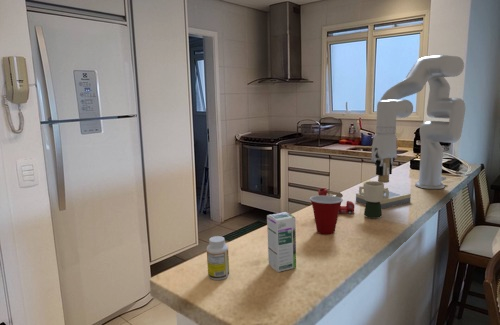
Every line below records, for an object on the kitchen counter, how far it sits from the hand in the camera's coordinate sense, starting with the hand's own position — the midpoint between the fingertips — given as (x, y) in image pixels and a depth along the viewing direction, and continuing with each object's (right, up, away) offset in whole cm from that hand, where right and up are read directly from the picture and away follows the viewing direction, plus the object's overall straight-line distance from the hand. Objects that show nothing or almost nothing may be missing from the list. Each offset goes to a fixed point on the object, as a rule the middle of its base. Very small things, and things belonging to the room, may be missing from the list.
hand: (383, 174), depth 149 cm
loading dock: (0, -12, +2) cm, 12 cm away
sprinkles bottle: (0, -3, +1) cm, 4 cm away
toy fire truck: (-22, -15, -10) cm, 29 cm away
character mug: (-10, -16, -16) cm, 25 cm away
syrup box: (-47, -24, -52) cm, 74 cm away
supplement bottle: (-64, -25, -56) cm, 89 cm away
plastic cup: (-30, -19, -28) cm, 46 cm away
